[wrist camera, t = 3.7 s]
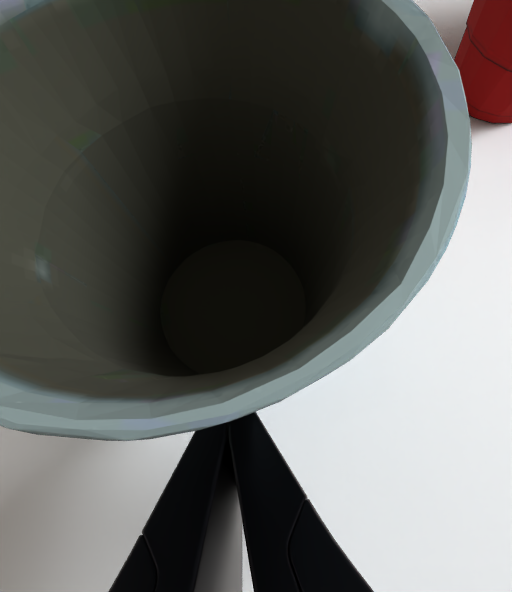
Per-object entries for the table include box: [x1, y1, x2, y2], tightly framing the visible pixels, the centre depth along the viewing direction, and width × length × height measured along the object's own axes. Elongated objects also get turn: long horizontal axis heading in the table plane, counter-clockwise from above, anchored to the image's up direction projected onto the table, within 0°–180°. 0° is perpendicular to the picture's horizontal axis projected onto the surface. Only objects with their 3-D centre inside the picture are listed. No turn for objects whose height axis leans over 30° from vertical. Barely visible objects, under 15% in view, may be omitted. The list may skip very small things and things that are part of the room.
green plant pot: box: [0, 0, 472, 441], centre depth 11 cm, size 10×10×12 cm
